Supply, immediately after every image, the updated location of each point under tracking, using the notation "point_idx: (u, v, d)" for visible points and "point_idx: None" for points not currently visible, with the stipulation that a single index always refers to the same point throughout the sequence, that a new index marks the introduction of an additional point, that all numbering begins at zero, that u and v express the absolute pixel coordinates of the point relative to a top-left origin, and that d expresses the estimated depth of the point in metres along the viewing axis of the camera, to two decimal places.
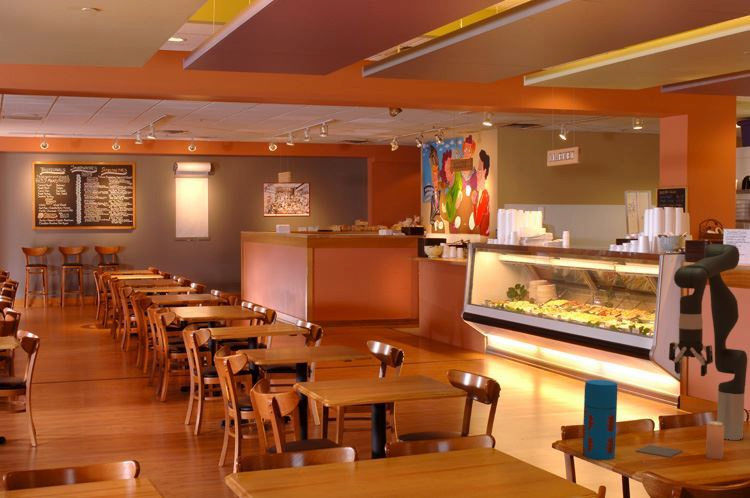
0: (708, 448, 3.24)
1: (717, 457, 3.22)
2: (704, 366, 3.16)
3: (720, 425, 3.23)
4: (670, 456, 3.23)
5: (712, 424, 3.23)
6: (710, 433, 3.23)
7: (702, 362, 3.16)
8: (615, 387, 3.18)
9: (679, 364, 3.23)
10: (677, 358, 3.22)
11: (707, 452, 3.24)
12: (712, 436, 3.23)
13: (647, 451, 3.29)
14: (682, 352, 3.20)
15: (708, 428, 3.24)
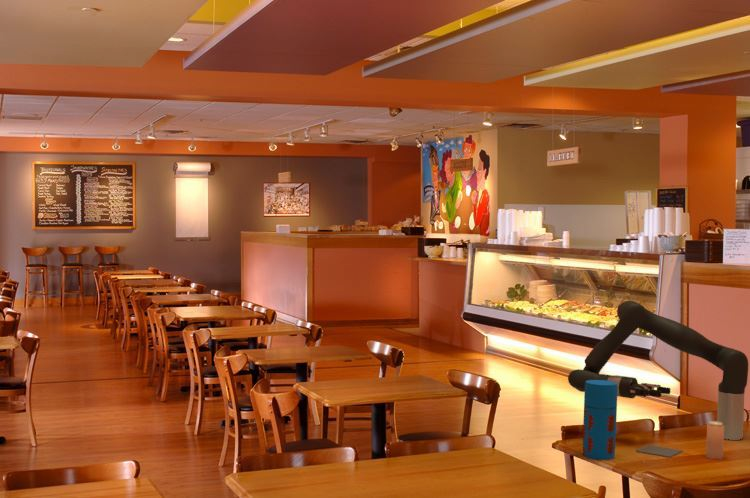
0: (708, 448, 3.24)
1: (717, 457, 3.22)
2: (650, 395, 3.34)
3: (720, 425, 3.23)
4: (670, 456, 3.23)
5: (712, 424, 3.23)
6: (710, 433, 3.23)
7: None
8: (615, 387, 3.18)
9: (661, 389, 3.40)
10: None
11: (707, 452, 3.24)
12: (712, 436, 3.23)
13: (647, 451, 3.29)
14: None
15: (708, 428, 3.24)
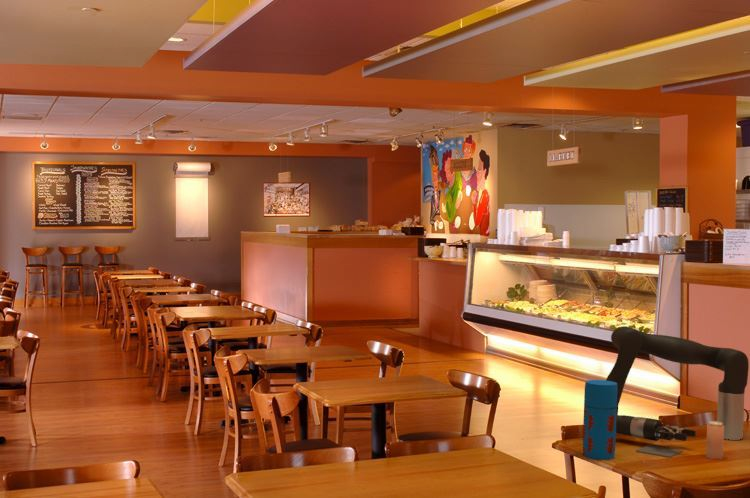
0: (708, 448, 3.24)
1: (717, 457, 3.22)
2: None
3: (720, 425, 3.23)
4: (670, 456, 3.23)
5: (712, 424, 3.23)
6: (710, 433, 3.23)
7: None
8: (615, 387, 3.18)
9: (686, 432, 3.35)
10: None
11: (707, 452, 3.24)
12: (712, 436, 3.23)
13: (647, 451, 3.29)
14: None
15: (708, 428, 3.24)
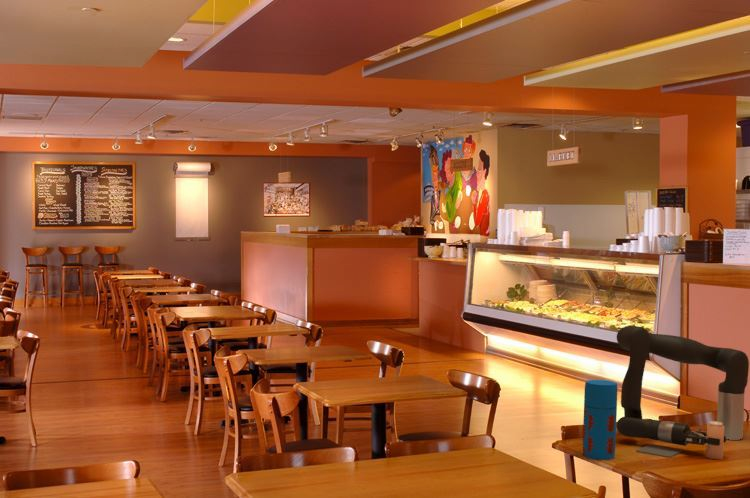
0: (708, 448, 3.24)
1: (717, 457, 3.22)
2: None
3: (720, 425, 3.23)
4: (670, 456, 3.23)
5: (712, 424, 3.23)
6: (710, 433, 3.23)
7: None
8: (615, 387, 3.18)
9: None
10: None
11: (707, 452, 3.24)
12: (712, 436, 3.23)
13: (647, 451, 3.29)
14: None
15: (708, 428, 3.24)
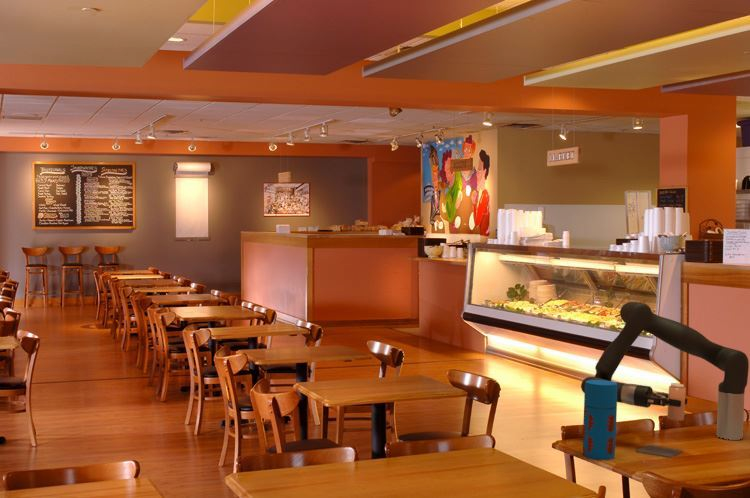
0: (669, 409, 3.27)
1: (678, 418, 3.26)
2: (670, 404, 3.26)
3: (682, 387, 3.26)
4: (670, 456, 3.23)
5: (674, 386, 3.27)
6: (672, 395, 3.27)
7: None
8: (615, 387, 3.18)
9: None
10: None
11: (668, 413, 3.28)
12: (673, 398, 3.26)
13: (647, 451, 3.29)
14: None
15: (670, 389, 3.27)
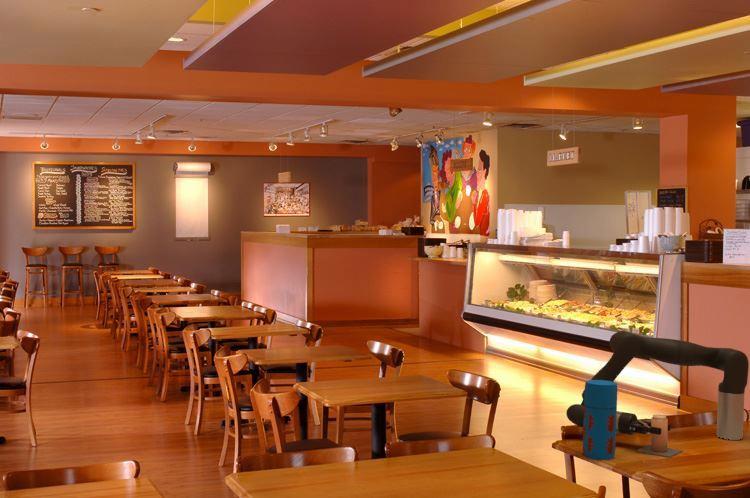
0: (652, 441, 3.30)
1: (661, 450, 3.28)
2: None
3: (663, 418, 3.29)
4: (670, 456, 3.23)
5: (656, 417, 3.29)
6: None
7: None
8: (615, 387, 3.18)
9: None
10: None
11: (652, 445, 3.30)
12: None
13: (647, 451, 3.29)
14: None
15: (652, 421, 3.30)
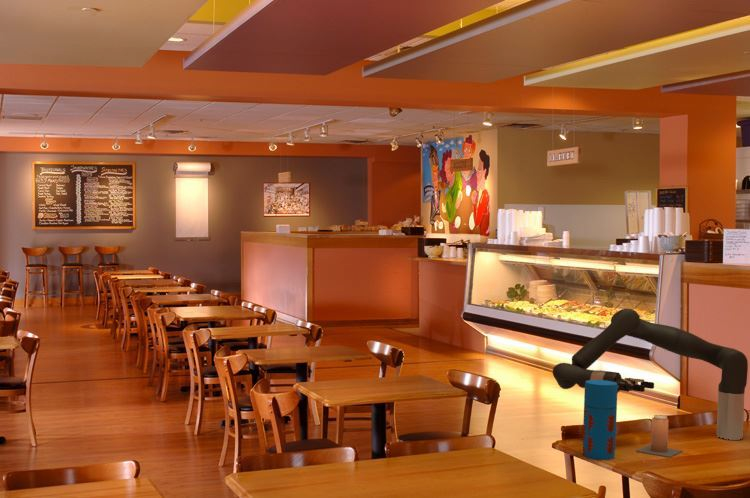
0: (653, 441, 3.30)
1: (661, 450, 3.28)
2: (634, 389, 3.32)
3: (664, 419, 3.28)
4: (670, 456, 3.23)
5: (657, 418, 3.29)
6: (655, 427, 3.29)
7: None
8: (615, 387, 3.18)
9: (644, 384, 3.39)
10: None
11: (652, 445, 3.30)
12: (656, 430, 3.28)
13: (647, 451, 3.29)
14: None
15: (653, 421, 3.30)
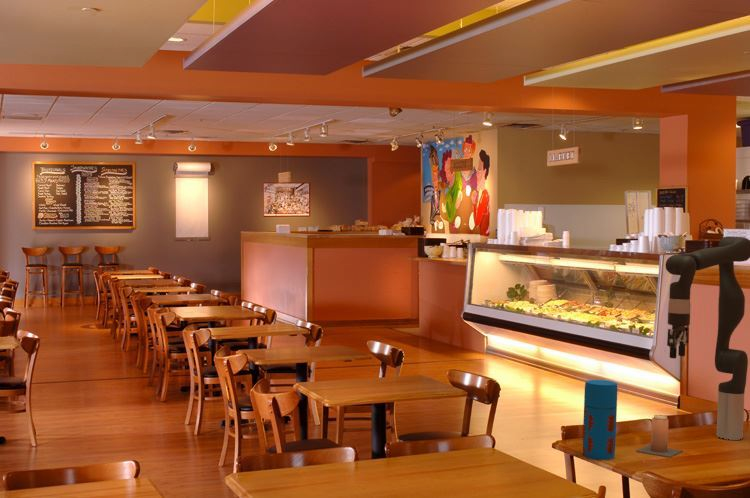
0: (653, 441, 3.30)
1: (661, 450, 3.28)
2: None
3: (664, 419, 3.28)
4: (670, 456, 3.23)
5: (657, 418, 3.29)
6: (655, 427, 3.29)
7: None
8: (615, 387, 3.18)
9: (681, 347, 3.41)
10: None
11: (652, 445, 3.30)
12: (657, 430, 3.28)
13: (647, 451, 3.29)
14: None
15: (653, 422, 3.30)
